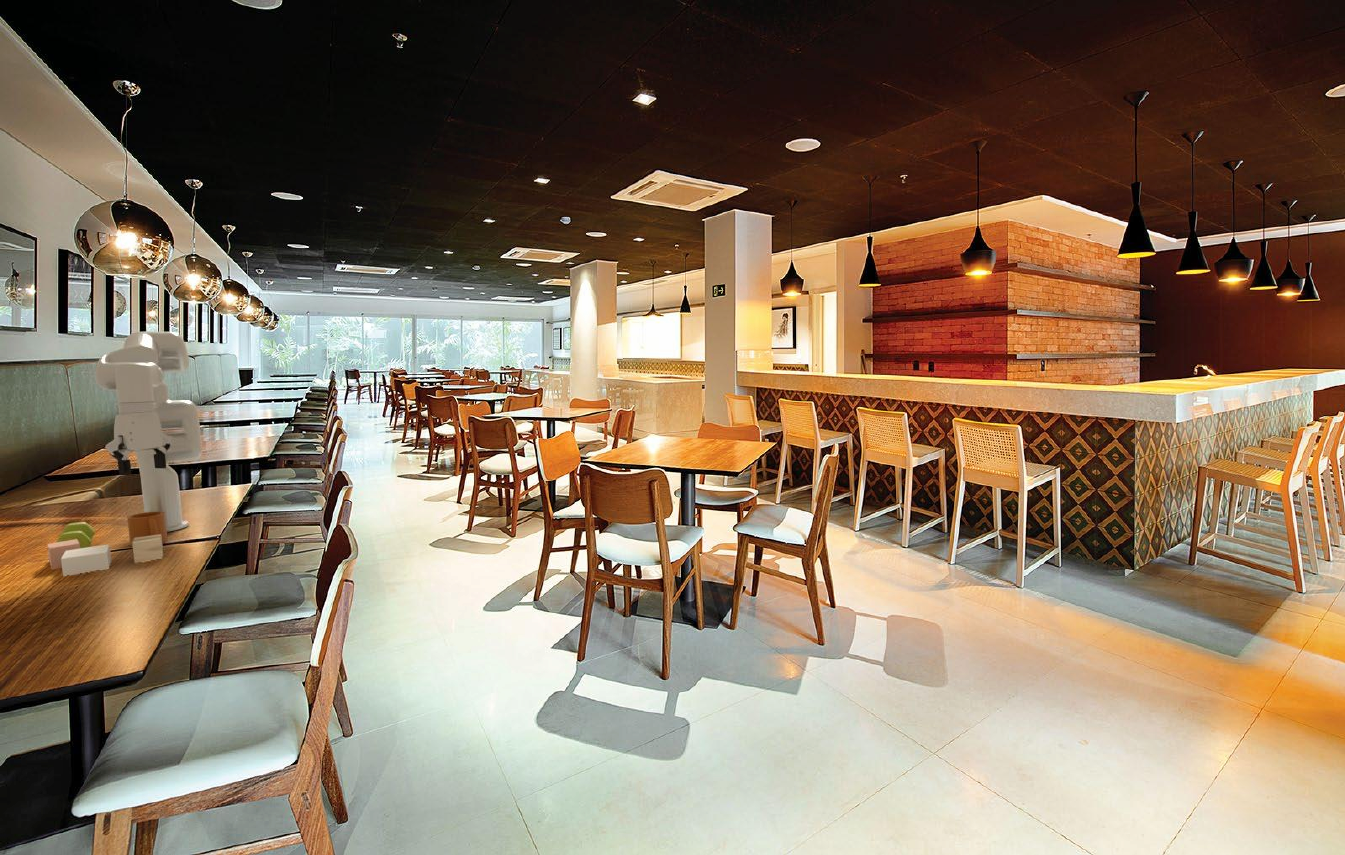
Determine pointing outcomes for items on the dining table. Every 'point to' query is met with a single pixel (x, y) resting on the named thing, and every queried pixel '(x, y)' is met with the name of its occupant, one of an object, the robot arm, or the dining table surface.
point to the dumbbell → (78, 533)
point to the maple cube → (147, 548)
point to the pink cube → (60, 551)
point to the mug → (147, 525)
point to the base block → (86, 560)
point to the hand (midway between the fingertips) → (143, 471)
